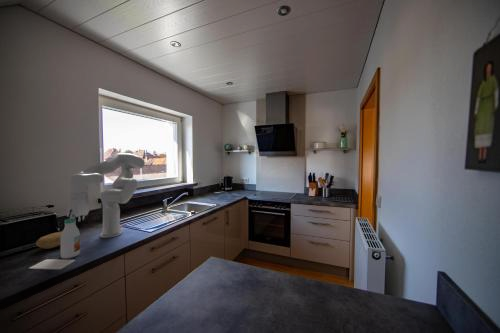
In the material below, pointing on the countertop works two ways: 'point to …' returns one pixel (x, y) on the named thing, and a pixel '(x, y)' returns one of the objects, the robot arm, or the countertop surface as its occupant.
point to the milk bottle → (70, 239)
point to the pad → (52, 264)
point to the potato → (49, 241)
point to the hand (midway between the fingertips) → (79, 227)
